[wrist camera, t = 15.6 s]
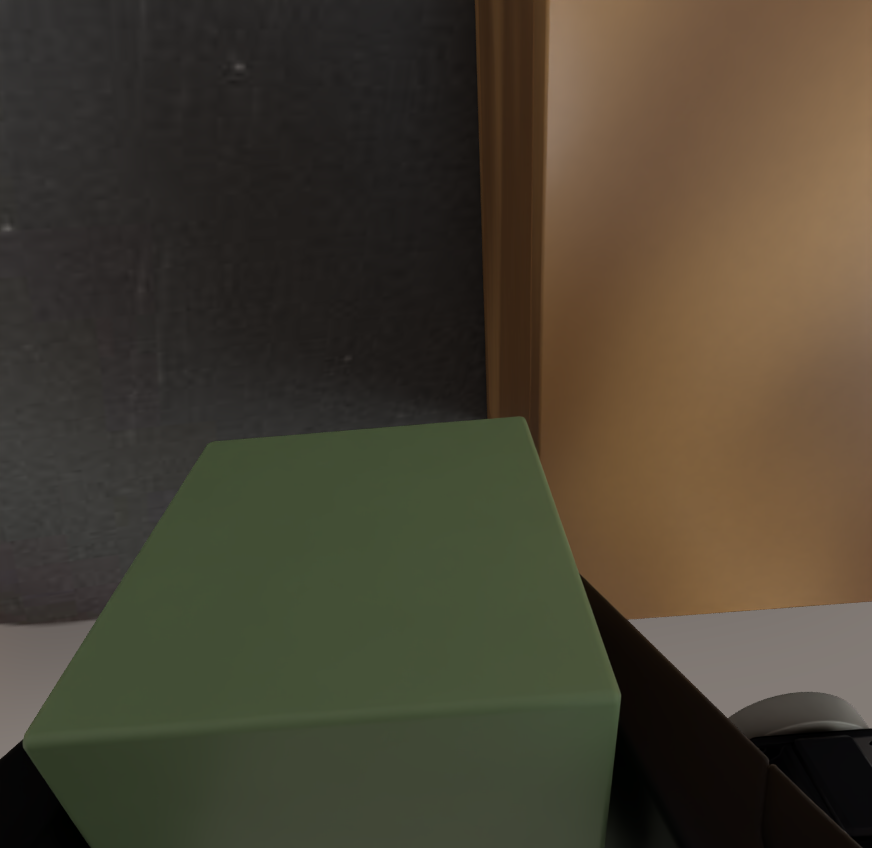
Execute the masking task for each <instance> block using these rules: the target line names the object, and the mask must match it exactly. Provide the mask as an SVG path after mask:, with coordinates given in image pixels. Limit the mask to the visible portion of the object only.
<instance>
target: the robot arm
mask: <svg viewBox="0 0 872 848" xmlns="http://www.w3.org/2000/svg"><path fill="white" fill-rule="evenodd" d="M579 575H580V577H581V580H582V583H583V586H584V589H585V592H586V595H587V598H588V600H589V603H590V606H591V609H592V612H593V615H594V618H595V621H596V624H597V626H598V629H599V632H600V635H601V638H602V641H603V644H604V647H605V650H606V652H607V655H608V658H609V661H610V664H611V667H612V670H613V673H614V676H615V678H616V681H617V684H618V687H619V690H620V693H621V702H620V711H619V720H618V729H617V739H616V748H615V757H614V766H613V775H612V784H611V794H610V803H609V812H608V821H607V830H606V840H605V848H872V728H869V729H855V730H842V731H828V732H814V733H801V734H787V735H774V736H760V737H753V738H751V739H748V738H747V737H746V736H745V735H744V734H743V733H742V732H741V731H740V730H739V729H738V728H737V727H736V726H735V725H734V724H733V723H732V722H731V721H730V720H729V719H728V718H727V717H725V715H724V714H723V713H722V712H721V711H720V710H719V709H717V708H716V707H715V706H714V705H713V704H712V703H711V702H710V701H709V700H708V699H707V698H706V697H705V696H704V695H703V694H702V693H701V692H700V691H699V690H698V689H697V688H696V687H695V686H694V685H693V684H692V683H691V682H690V681H689V680H688V679H687V678H686V677H685V676H684V675H683V674H682V673H681V672H680V671H679V670H678V669H677V668H676V667H675V666H674V665H673V664H672V663H671V662H670V661H668V660H667V658H666V657H665V656H663V655H662V654H661V653H660V652H659V651H658V650H657V649H656V648H655V647H654V646H653V645H652V644H651V643H650V642H649V641H648V640H647V639H646V638H645V637H644V636H643V635H642V634H641V633H640V632H639V631H638V630H637V629H636V628H635V627H634V626H633V625H632V624H631V623H630V622H629V621H628V620H627V619H626V618H625V617H624V616H623V615H622V614H621V613H620V612H619V611H618V610H617V609H616V608H615V607H614V606H612V605H611V604H610V603H609V602H608V601H607V600H606V599H605V598H604V597H603V596H602V595H601V594H600V593H599V592H598V591H597V590H596V589H595V588H594V587H593V586H592V585H591V584H590V583H589V582H588V581H587V580H586V579H585V578H584V577H583V576H582V575H581V574H580V573H579ZM0 848H90V846H89V845H88V843H87V842H86V840H85V839H84V837H83V836H82V834H81V833H80V831H79V830H78V828H77V827H76V825H75V824H74V823H73V821H72V820H71V818H70V817H69V815H68V814H67V812H66V811H65V809H64V808H63V806H62V805H61V803H60V802H59V800H58V799H57V797H56V796H55V794H54V793H53V791H52V790H51V788H50V787H49V785H48V784H47V782H46V781H45V779H44V778H43V776H42V775H41V774H40V772H39V771H38V769H37V768H36V766H35V765H34V763H33V762H32V760H31V759H30V757H29V756H28V754H27V753H26V751H25V750H24V748H23V740H22V741H21V742H20V743H18V744H17V745H16V746H15V747H14V748H13V749H11V750H10V751H9V752H8V753H7V754H6V755H5V756H4V757H2V758H1V759H0Z"/></svg>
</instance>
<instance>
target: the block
mask: <svg viewBox="0 0 872 848" xmlns="http://www.w3.org/2000/svg"><path fill="white" fill-rule="evenodd" d="M620 702H621V693H620V690H619V687H618V684H617V681H616V678H615V676H614V673H613V670H612V667H611V664H610V661H609V658H608V655H607V652H606V650H605V647H604V644H603V641H602V638H601V635H600V632H599V629H598V626H597V624H596V621H595V618H594V615H593V612H592V609H591V606H590V603H589V600H588V598H587V595H586V592H585V589H584V586H583V583H582V580H581V577H580V575H579V572H578V569H577V566H576V563H575V560H574V557H573V554H572V551H571V549H570V546H569V543H568V540H567V537H566V534H565V531H564V528H563V525H562V523H561V520H560V517H559V514H558V511H557V508H556V505H555V502H554V500H553V497H552V494H551V491H550V488H549V485H548V482H547V479H546V476H545V474H544V471H543V468H542V465H541V462H540V459H539V456H538V453H537V450H536V448H535V445H534V442H533V439H532V436H531V433H530V430H529V427H528V424H527V422H526V420H525V418H524V417H520V416H517V417H505V418H493V419H481V420H468V421H456V422H444V423H432V424H420V425H408V426H395V427H383V428H371V429H359V430H347V431H335V432H322V433H310V434H298V435H286V436H274V437H262V438H249V439H237V440H225V441H213V442H211V443H209V444H207V446H206V447H205V449H204V451H203V452H202V454H201V455H200V457H199V459H198V460H197V462H196V463H195V465H194V467H193V468H192V470H191V471H190V473H189V474H188V476H187V478H186V479H185V481H184V482H183V484H182V486H181V487H180V489H179V490H178V492H177V493H176V495H175V497H174V498H173V500H172V501H171V503H170V505H169V506H168V508H167V509H166V511H165V513H164V514H163V516H162V517H161V519H160V520H159V522H158V524H157V525H156V527H155V528H154V530H153V532H152V533H151V535H150V536H149V538H148V539H147V541H146V543H145V544H144V546H143V547H142V549H141V551H140V552H139V554H138V555H137V557H136V559H135V560H134V562H133V563H132V565H131V566H130V568H129V570H128V571H127V573H126V574H125V576H124V578H123V579H122V581H121V582H120V584H119V585H118V587H117V589H116V590H115V592H114V593H113V595H112V597H111V598H110V600H109V601H108V603H107V605H106V606H105V608H104V609H103V611H102V612H101V614H100V616H99V617H98V619H97V620H96V622H95V624H94V625H93V627H92V628H91V630H90V631H89V633H88V635H87V636H86V638H85V639H84V641H83V643H82V644H81V646H80V648H79V649H78V651H77V652H76V654H75V655H74V657H73V658H72V660H71V662H70V663H69V665H68V667H67V668H66V670H65V671H64V673H63V674H62V676H61V677H60V679H59V681H58V682H57V684H56V686H55V687H54V689H53V690H52V692H51V693H50V695H49V697H48V698H47V700H46V701H45V703H44V704H43V706H42V708H41V709H40V711H39V712H38V714H37V716H36V717H35V719H34V721H33V722H32V724H31V725H30V727H29V728H28V730H27V731H26V733H25V735H24V739H23V748H24V750H25V751H26V753H27V754H28V756H29V757H30V759H31V760H32V762H33V763H34V765H35V766H36V768H37V769H38V771H39V772H40V774H41V775H42V776H43V778H44V779H45V781H46V782H47V784H48V785H49V787H50V788H51V790H52V791H53V793H54V794H55V796H56V797H57V799H58V800H59V802H60V803H61V805H62V806H63V808H64V809H65V811H66V812H67V814H68V815H69V817H70V818H71V820H72V821H73V823H74V824H75V825H76V827H77V828H78V830H79V831H80V833H81V834H82V836H83V837H84V839H85V840H86V842H87V843H88V845H89V846H90V848H605V840H606V830H607V821H608V812H609V803H610V794H611V784H612V775H613V766H614V757H615V748H616V739H617V729H618V720H619V711H620Z"/></svg>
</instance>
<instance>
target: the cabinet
mask: <svg viewBox="0 0 872 848" xmlns="http://www.w3.org/2000/svg"><path fill="white" fill-rule="evenodd" d="M475 20H476V53H477V87H478V121H479V154H480V188H481V222H482V255H483V289H484V322H485V356H486V390H487V419H493V418H505V417H517V416H520V417H524V418H525V420H526V422H527V424H528V427H529V430H530V433H531V436H532V439H533V442H534V445H535V448H536V450H537V453H538V456H539V459H540V462H541V465H542V468H543V471H544V474H545V476H546V479H547V482H548V485H549V488H550V491H551V494H552V497H553V500H554V502H555V505H556V508H557V511H558V514H559V517H560V520H561V523H562V525H563V528H564V531H565V534H566V537H567V540H568V543H569V546H570V549H571V551H572V554H573V557H574V560H575V563H576V566H577V569H578V572H579V573H580V574H581V575H582V576H583V577H584V578H585V579H586V580H587V581H588V582H589V583H590V584H591V585H592V586H593V587H594V588H595V589H596V590H597V591H598V592H599V593H600V594H601V595H602V596H603V597H604V598H605V599H606V600H607V601H608V602H609V603H610V604H611V605H612V606H614V607H615V608H616V609H617V610H618V611H619V612H620V613H621V614H622V615H623V616H624V617H625V618H626V619H627V620H629V619H642V618H656V617H669V616H683V615H696V614H710V613H723V612H736V611H750V610H762V609H763V610H764V609H777V608H790V607H804V606H816V605H831V604H844V603H858V602H871V601H872V0H475Z"/></svg>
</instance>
